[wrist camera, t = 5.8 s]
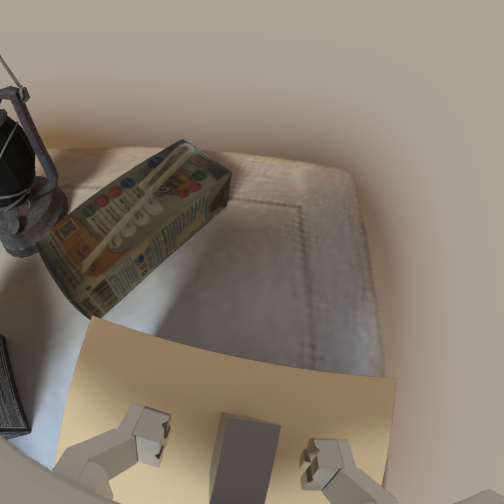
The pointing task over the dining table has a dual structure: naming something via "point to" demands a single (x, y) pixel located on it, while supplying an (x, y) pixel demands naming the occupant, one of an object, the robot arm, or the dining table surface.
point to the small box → (10, 400)
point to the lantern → (25, 179)
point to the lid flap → (221, 418)
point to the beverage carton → (133, 226)
